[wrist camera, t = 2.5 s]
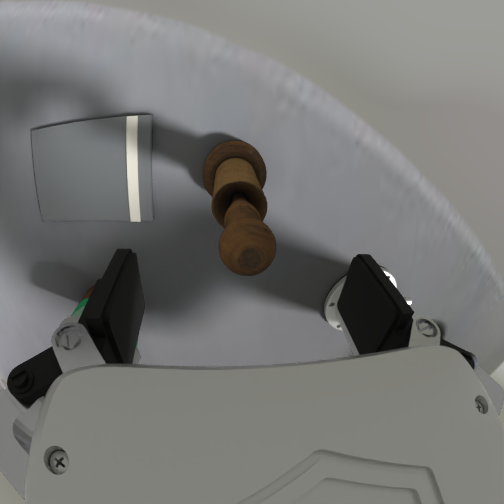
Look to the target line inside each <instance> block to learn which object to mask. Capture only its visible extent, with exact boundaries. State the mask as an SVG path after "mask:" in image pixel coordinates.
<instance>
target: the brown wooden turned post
mask: <svg viewBox="0 0 504 504" xmlns="http://www.w3.org/2000/svg"><path fill="white" fill-rule="evenodd" d="M265 181H266V167H265V163H264V161H263V159H262V157H261V155H260V154H259V152H258V151H257V150H256V149H255V148H254V147H253V146H251V145H250V144H248V143H245V142H242V141H227V142H224V143H221V144H220V145H218V146H217V147H215V148H214V149H213V150H212V151H211V152H210V154H209V155H208V157H207V159H206V161H205V165H204V168H203V182H204V185H205V188H206V190H207V191H208V193H209V194H210V195H211V196H212V197H213V198H212V212H213V215H214V217H215V219H216V220H217V222H218V223H219V224H220V225H221V226H222V227H224V228H226V229H225V230H224V231H223V233H222V235H221V237H220V241H219V253H220V256H221V259H222V261H223V263H224V264H225V265H226V266H227V267H228V268H229V269H230V270H231V271H233V272H234V273H237V274H239V275H244V276H251V275H256V274H259V273H261V272H262V271H264V270H265V269H266V268H268V267H269V265H270V264H271V263H272V261H273V259H274V257H275V253H276V240H275V237H274V235H273V233H272V231H271V230H270V228H269V227H268V226H267V225H266V224H264V223H263V222H262V221H263V219H264V218H265V215H266V212H267V200H266V197H265V195H264V193H263V191H262V189H263V187H264V185H265Z"/></svg>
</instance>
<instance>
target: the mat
mask: <svg viewBox="0 0 504 504" xmlns="http://www.w3.org/2000/svg"><path fill="white" fill-rule="evenodd" d="M152 118H153V115H134V116H121V117H111V118H101V119H93V120H86V121H79V122H72V123H66V124H61V125H55V126H50V127H45V128H41V129H36V130H32V131H31V135H32V152H33V163H34V172H35V180H36V187H37V194H38V200H39V205H40V211H41V216H42V220H43V221H131V222H140V221H153V219H154V216H153V194H152Z"/></svg>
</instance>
